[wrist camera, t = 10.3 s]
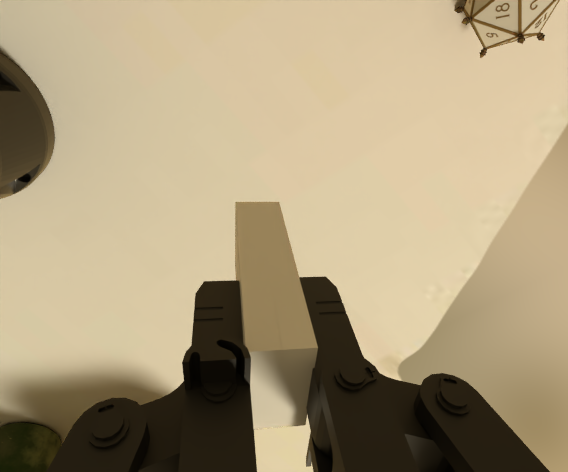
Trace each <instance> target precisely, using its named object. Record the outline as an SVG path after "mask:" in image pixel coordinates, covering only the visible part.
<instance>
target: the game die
mask: <svg viewBox="0 0 568 472" xmlns="http://www.w3.org/2000/svg"><path fill="white" fill-rule="evenodd" d="M558 2H559V0H466V3H465V5H464V7H462V6H461V7H458V8H457V9H456V10H455V11H456V12H457V13H460V12H462V11H464V13H465V14H466V16H467V18H464V19H463V21H462V23H463V24H466V25H467V23H469V22H470V24H471V25H472V27H473V29H474V31H475V33H476V35H477V36H478V38H479V40H480V42H481V44H482V46H483V47H484V48H483V50H481V53H480V58H482V57H483V56H484V55H485V54H486V53H487V52H486V51H487V49H489V48H492V47H496V46H500V45H503V44H507V43H510V42H514V41H517V40H518V41H517V42H519V43H522V44H523V42H524V41H525V38H528V37H532V36H535V35H537V38H538V40H542V41H544V36H545V35H543V33H540V31H541V29H542V28H543V26H544V25H545V23H546V21H547V20H548V18H549V17H550V15H551V13H552V12H553V10H554V8H555V7H556V5H557V4H558Z"/></svg>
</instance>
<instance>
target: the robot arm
mask: <svg viewBox="0 0 568 472" xmlns="http://www.w3.org/2000/svg"><path fill="white" fill-rule="evenodd" d="M54 141H55V134H54V126H53V121H52V117H51V114H50V111H49V109H48V107H47V104H46V102H45V100H44V99H43V97H42V95H41V93H40V92H39V90H38V89H37V87H36V86H35V85H34V83H33V82H32V81H31V80H30V79H29V77H28V76H27V75H26V74H25V73H24V72H23V71H22V70H21V69H20V68H19V67H18V66H17V65H16V64H15V63H13V62H12V61H11V60H10V59H8V58H7V57H6V56H4V55H3V54H1V53H0V199H1V198H5V197H8V196H11V195H13V194H15V193H17V192H19V191H21V190H23V189H24V188H26V187H27V186H29V185H30V184H31V183H32V182H33V181H34V180H35V179H36V178H37V177H38V176H39V175H40V174H41V173H42V172H43V171H44V169H45V168H46V166H47V165H48V163H49V161H50V159H51V156H52V153H53V149H54ZM235 270H236V281H205V282H203V284H202V285H201V287H200V288H199V290H198V291H197V293H196V296H195V311H194V322H193V334H192V346H191V347H190V348H189V349H188V350H187V351H186V353H185V356H184V359H183V362H182V364H183V374H184V382H183V383H182V384H181V385H180V386H179V387H178V388H177V389H176V390H174V391H173V392H172V393H170V394H168V395H166V396H164V397H162V398H160V399H157V400H155V401H152V402H149V403H146V404H144V405H141V406H140V405H139V404H138V403H137V402H136V401H133V400H130V399H127V398H111V399H108V400H105V401H102V402H99V403H97V404H95V405H94V406H92V407H91V408H90V409H88V410H87V411H85V412H84V413H83V414H82V415H81V417H80V418H79V419H78V420H77V421H76V423H75V424H74V425H73V427H72V429H71V430H70V432H69V434H68V436H67V437H66V439H65V441H64V442H63V444H62V446H61V447H60V449H59V451H58V452H57V454H56V456H55V457H54V459H53V461H52V463H51V464H50V466H49V468H48V469H47V471H46V472H257V467H256V454H255V441H254V430H255V429H266V428H278V427H289V426H300V425H305V424H306V418H307V414H308V419H309V424H310V429H311V434H310V439H309V445H308V450H307V456H306V467H307V466H311V462H312V465H313V470H314V472H550V471H549V470H548V469H547V468H546V467H545V466H544V465H543V464H542V463H541V462H540V460H539V459H538V458H537V457H536V456H535V455H534V454H533V453H532V452H531V451H530V449H529V448H528V447H527V446H526V445H525V444H524V443H523V442H522V440H521V439H520V438H519V437H518V436H517V435H516V434H515V433H514V432H513V430H512V429H511V428H510V427H509V426H508V425H507V424H506V423H505V422H504V420H502V418H501V417H500V416H499V415H498V414H497V413H496V412H495V411H494V409H493V408H492V407H491V406H490V405H489V404H488V403H487V402H486V401H485V399H484V398H483V397H482V396H481V395H480V394H479V393H478V392H477V391H476V390H475V389H474V388H473V387H472V386H470V385H469V384H468V383H467V382H465V381H464V380H462V379H460V378H458V377H455V376H453V375H448V374H443V373H441V374H432V375H430V376H429V377H427V378H425V379H424V380H423V382H422V384H421V385H417V384H412V383H407V382H403V381H398V380H395V379H391V378H388V377H386V376H384V375H382V374H380V373H379V372H378V370H377V369H376V367H375V366H374V365H372V364H371V363H370V362H369V361H367V360H366V359H364V357H363V355H362V353H361V350H360V347H359V345H358V342H357V339H356V337H355V334H354V332H353V329H352V326H351V324H350V321H349V318H348V316H347V314H346V311H345V308H344V305H343V303H342V300H341V297H340V295H339V292H338V290H337V287H336V286H335V285H334V284H333V283H332V282H331V281H330V280H329V279H328V278H327V277H299V275H298V271H297V267H296V264H295V260H294V256H293V253H292V249H291V245H290V241H289V238H288V234H287V230H286V226H285V223H284V219H283V215H282V211H281V208H280V204H279V202H236V211H235Z"/></svg>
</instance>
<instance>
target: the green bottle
mask: <svg viewBox="0 0 568 472" xmlns="http://www.w3.org/2000/svg"><path fill="white" fill-rule="evenodd" d="M60 447H61V441H60V438H59V437H58V435H57V434H56V433H55V432H53V431H52V430H50V429H48V428H46V427H44V426H41V425H36V424H32V423H13V424H8V425H5V426H3V427H0V472H46V471H47V469H48V468H49V466H50V464H51V463H52V461H53V459H54V457H55V456H56V454H57V452H58V451H59V449H60Z"/></svg>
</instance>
